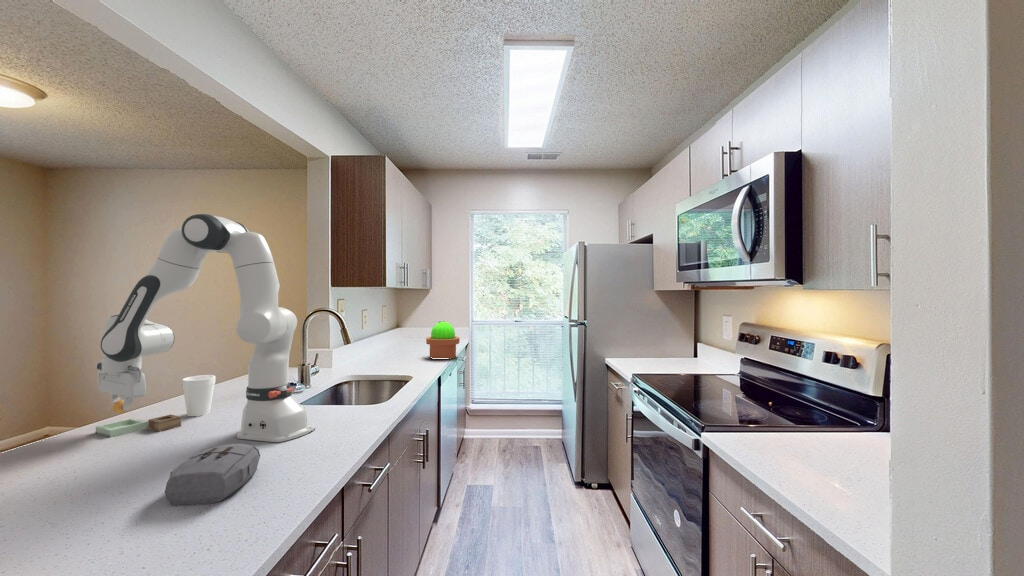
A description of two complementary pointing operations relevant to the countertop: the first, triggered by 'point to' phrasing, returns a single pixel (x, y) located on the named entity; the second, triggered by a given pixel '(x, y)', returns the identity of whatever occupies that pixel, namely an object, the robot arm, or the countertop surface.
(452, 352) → the potted cactus
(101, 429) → the tray
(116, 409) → the ball
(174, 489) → the small grey backpack
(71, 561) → the countertop surface
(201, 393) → the foam cup
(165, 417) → the brown wooden box
